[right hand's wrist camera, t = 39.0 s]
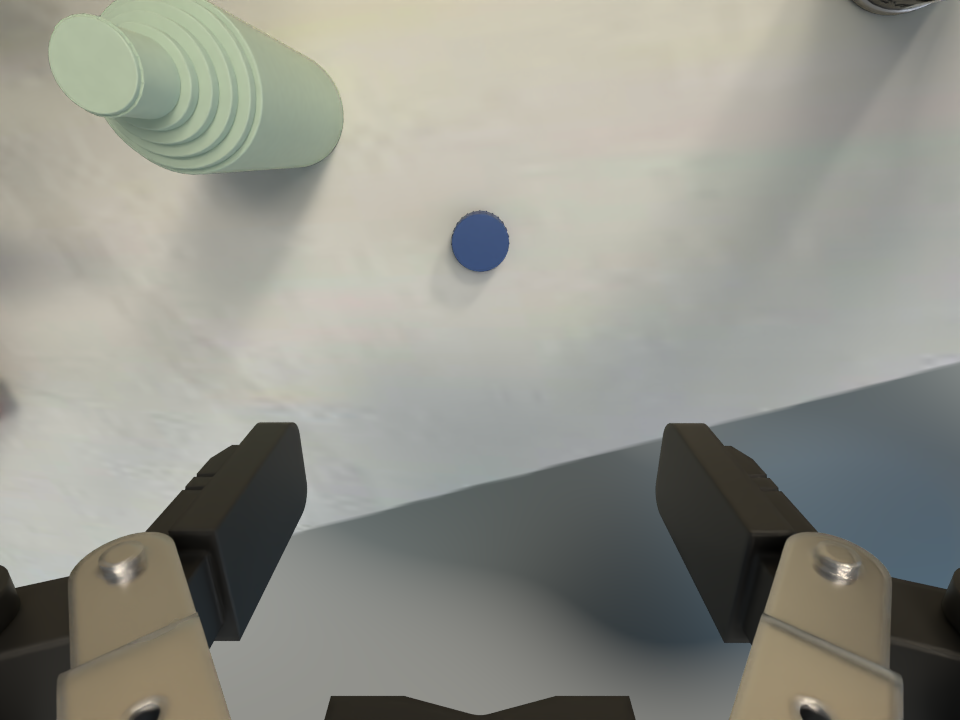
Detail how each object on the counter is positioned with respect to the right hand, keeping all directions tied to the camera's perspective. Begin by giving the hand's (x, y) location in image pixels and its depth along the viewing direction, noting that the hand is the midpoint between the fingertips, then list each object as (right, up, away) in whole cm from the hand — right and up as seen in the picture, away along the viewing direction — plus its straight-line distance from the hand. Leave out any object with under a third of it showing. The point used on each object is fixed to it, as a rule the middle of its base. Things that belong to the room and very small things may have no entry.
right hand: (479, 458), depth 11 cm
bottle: (-14, +20, +27) cm, 36 cm away
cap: (0, +11, +28) cm, 30 cm away
